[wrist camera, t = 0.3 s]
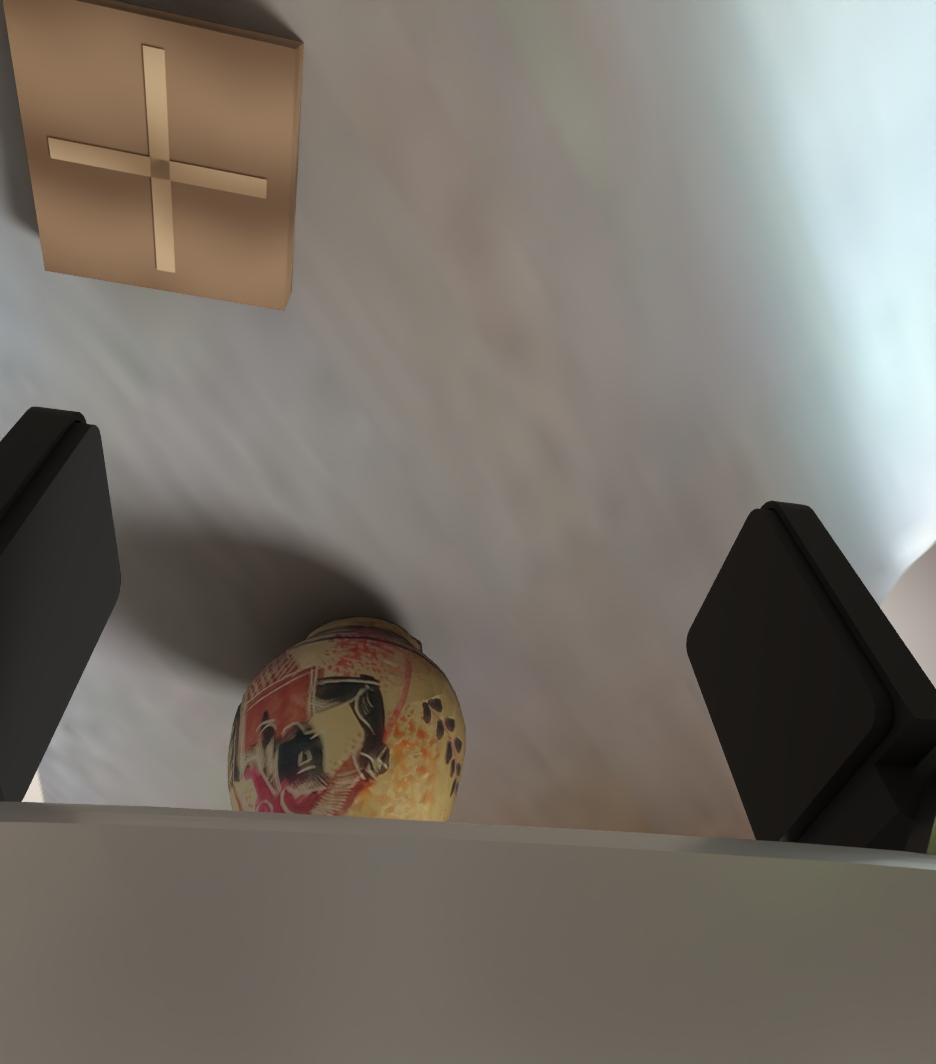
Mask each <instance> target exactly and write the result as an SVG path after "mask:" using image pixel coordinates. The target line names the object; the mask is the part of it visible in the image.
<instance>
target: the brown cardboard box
mask: <svg viewBox="0 0 936 1064" xmlns="http://www.w3.org/2000/svg"><path fill="white" fill-rule="evenodd" d="M3 6H4V12H5V19H6V25H7V31H8V38H9V44H10V50H11V57H12V63H13V69H14V76H15V82H16V88H17V95H18V101H19V108H20V114H21V120H22V127H23V133H24V139H25V146H26V152H27V158H28V165H29V171H30V177H31V184H32V190H33V197H34V203H35V209H36V216H37V222H38V228H39V235H40V241H41V247H42V254H43V260H44V266H45V271H51V272H57V273H63V274H69V275H75V276H81V277H87V278H93V279H99V280H105V281H111V282H117V283H122V284H128V285H134V286H140V287H146V288H152V289H158V290H164V291H170V292H176V293H182V294H188V295H194V296H200V297H206V298H212V299H218V300H224V301H230V302H236V303H242V304H248V305H254V306H260V307H266V308H272V309H278V310H285V308H286V305H287V303H288V300H289V297H290V295H291V291H292V270H293V250H294V230H295V210H296V190H297V169H298V149H299V129H300V109H301V89H302V68H303V48H304V43H303V42H299V41H295V40H290V39H286V38H281V37H277V36H272V35H268V34H263V33H259V32H254V31H250V30H245V29H241V28H236V27H232V26H227V25H223V24H218V23H214V22H209V21H205V20H200V19H196V18H191V17H187V16H182V15H178V14H174V13H169V12H165V11H160V10H156V9H151V8H147V7H142V6H138V5H133V4H129V3H124V2H120V1H115V0H3Z"/></svg>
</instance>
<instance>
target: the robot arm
mask: <svg viewBox="0 0 936 1064" xmlns="http://www.w3.org/2000/svg"><path fill="white" fill-rule="evenodd" d="M120 585H121V573H120V566H119V559H118V552H117V545H116V538H115V531H114V524H113V517H112V510H111V503H110V496H109V489H108V482H107V475H106V469H105V462H104V455H103V448H102V441H101V435H100V431H99V429H98V427H97V426H96V425H90V424H87V423H86V420H85V418H84V416H83V415H82V414H81V413H80V412H74V411H66V410H58V409H51V408H43V407H31V408H30V409H28V410H27V411H26V412H25V414H24V415H23V416H22V417H21V418H20V419H19V421H18V422H17V423H16V424H15V425H14V426H13V428H12V429H11V430H10V431H9V432H8V433H7V435H6V436H5V437H4V438H3V439H2V440H1V442H0V1064H936V689H935V687H934V686H933V684H932V683H931V681H930V680H929V679H928V677H927V676H926V674H925V673H924V671H923V670H922V669H921V667H920V666H919V664H918V663H917V661H916V660H915V658H914V657H913V655H912V654H911V652H910V651H909V649H908V648H907V647H906V645H905V644H904V642H903V641H902V639H901V638H900V636H899V635H898V633H897V632H896V630H895V629H894V628H893V626H892V625H891V623H890V622H889V621H888V619H887V617H886V616H885V614H884V613H883V612H882V610H881V609H880V607H879V606H878V604H877V603H876V601H875V600H874V598H873V597H872V595H871V594H870V593H869V591H868V590H867V588H866V587H865V585H864V584H863V582H862V581H861V579H860V578H859V577H858V575H857V574H856V572H855V571H854V569H853V568H852V566H851V565H850V563H849V562H848V561H847V559H846V558H845V556H844V555H843V553H842V552H841V550H840V549H839V547H838V546H837V544H836V543H835V542H834V540H833V539H832V537H831V536H830V534H829V533H828V531H827V530H826V528H825V527H824V526H823V524H822V523H821V521H820V520H819V518H818V517H817V515H816V514H815V512H814V511H813V510H812V509H811V508H810V507H809V506H806V505H801V504H793V503H785V502H777V501H769V502H766V503H765V504H764V505H763V506H762V507H761V508H760V509H754V510H753V511H752V512H751V513H750V514H749V516H748V517H747V519H746V521H745V523H744V525H743V527H742V529H741V531H740V533H739V535H738V537H737V539H736V541H735V543H734V544H733V546H732V548H731V550H730V552H729V554H728V556H727V558H726V560H725V562H724V564H723V566H722V568H721V570H720V572H719V574H718V575H717V577H716V579H715V581H714V583H713V585H712V587H711V589H710V591H709V593H708V595H707V597H706V599H705V601H704V603H703V605H702V607H701V608H700V610H699V612H698V614H697V616H696V618H695V620H694V622H693V624H692V626H691V628H690V630H689V632H688V636H687V643H686V647H687V653H688V657H689V659H690V662H691V665H692V668H693V670H694V673H695V676H696V678H697V681H698V684H699V686H700V689H701V692H702V695H703V697H704V700H705V703H706V705H707V708H708V711H709V714H710V716H711V719H712V722H713V724H714V727H715V730H716V733H717V735H718V738H719V741H720V743H721V746H722V749H723V751H724V754H725V757H726V760H727V762H728V765H729V768H730V770H731V773H732V776H733V779H734V781H735V784H736V787H737V789H738V792H739V795H740V797H741V800H742V803H743V806H744V808H745V811H746V814H747V816H748V819H749V822H750V825H751V827H752V830H753V833H754V835H755V838H756V840H746V839H730V838H714V837H697V836H681V835H665V834H648V833H632V832H616V831H599V830H581V829H564V828H546V827H528V826H511V825H493V824H475V823H457V822H439V821H421V820H403V819H385V818H366V817H346V816H327V815H307V814H287V813H268V812H248V811H228V810H209V809H189V808H169V807H148V806H119V805H91V804H63V803H34V802H21V801H22V800H23V798H24V796H25V794H26V792H27V790H28V788H29V785H30V784H31V781H32V779H33V777H34V775H35V773H36V771H37V769H38V767H39V764H40V762H41V760H42V758H43V756H44V754H45V752H46V750H47V748H48V745H49V743H50V741H51V739H52V737H53V735H54V733H55V731H56V728H57V726H58V724H59V722H60V720H61V718H62V716H63V714H64V712H65V709H66V707H67V705H68V703H69V701H70V699H71V697H72V695H73V692H74V690H75V688H76V686H77V684H78V682H79V680H80V678H81V676H82V673H83V671H84V669H85V667H86V665H87V663H88V661H89V659H90V656H91V654H92V652H93V650H94V648H95V646H96V644H97V642H98V640H99V637H100V635H101V633H102V631H103V629H104V627H105V625H106V623H107V620H108V618H109V616H110V614H111V612H112V610H113V608H114V606H115V604H116V601H117V599H118V595H119V592H120Z"/></svg>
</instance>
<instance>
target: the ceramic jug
mask: <svg viewBox="0 0 936 1064" xmlns="http://www.w3.org/2000/svg"><path fill="white" fill-rule="evenodd" d="M465 733H466V727H465V723H464V719H463V715H462V711H461V708H460V704H459V701H458V699H457V696H456V693H455V691H454V689H453V688H452V686H451V684H450V682H449V680H448V679H447V677H446V675H445V674H444V673H443V671H442V670H441V669H440V668H439V667H438V666H437V665H436V664H435V663H434V662H433V661H432V660H430V659H429V658H428V657H427V656H426V655H425V654H424V653H422V643H420V642H418V641H417V640H415V639H413V638H412V637H411V636H410V635H409V634H408V632H406V631H405V630H403V629H402V628H400V627H399V626H397V625H396V624H394V623H391V622H388V621H385V620H382V619H377V618H371V617H353V618H345V619H337V620H334V621H331V622H329V623H327V624H325V625H323V626H321V627H319V628H317V629H315V630H314V631H313V632H311V633H310V634H309V636H308V637H307V639H306V640H304V641H302V642H300V643H297V644H296V645H294V646H292V647H291V648H289V649H288V650H286V651H284V652H283V653H281V654H279V655H278V656H277V657H275V658H274V659H273V660H272V661H271V662H270V663H269V664H268V665H267V666H265V667H264V668H263V669H262V670H261V671H260V672H259V673H258V674H257V676H256V677H255V678H254V679H253V680H252V681H251V683H250V685H249V686H248V688H247V690H246V692H245V693H244V695H243V698H242V702H241V704H240V705H239V706H238V709H237V712H236V715H235V719H234V722H233V727H232V733H231V739H230V745H229V753H228V789H229V793H230V801H231V805H232V811H248V812H268V813H287V814H307V815H327V816H346V817H366V818H385V819H403V820H421V821H439V822H447V821H448V819H449V817H450V815H451V812H452V808H453V805H454V802H455V798H456V794H457V790H458V786H459V782H460V777H461V772H462V766H463V760H464V755H465Z"/></svg>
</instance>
